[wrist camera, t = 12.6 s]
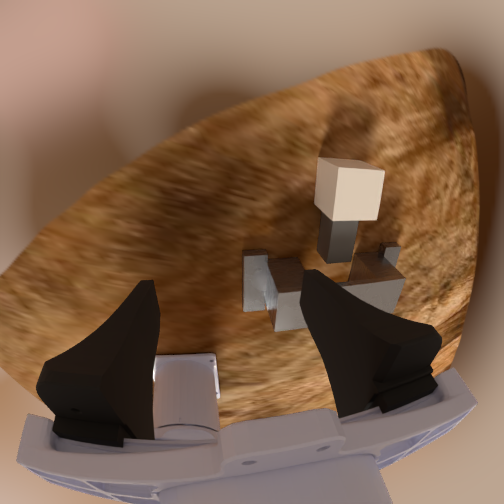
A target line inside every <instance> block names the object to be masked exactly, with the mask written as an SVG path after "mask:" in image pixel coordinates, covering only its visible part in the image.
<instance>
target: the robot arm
mask: <svg viewBox="0 0 504 504" xmlns="http://www.w3.org/2000/svg"><path fill="white" fill-rule="evenodd" d="M299 304H300V307H301V311H302V314H303V317H304V320H305V322H306V324H307V327H308V329H309V331H310V333H311V335H312V337H313V339H314V341H315V343H316V346H317V348H318V350H319V352H320V354H321V357H322V359H323V362H324V365H325V368H326V371H327V374H328V377H329V381H330V384H331V388H332V391H333V395H334V399H335V404H336V408H337V413H338V415H337V413H336V411H333V410H330V409H327V408H322V409H313V410H308V411H303V412H298V413H293V414H287V415H281V416H275V417H269V418H262V419H254V420H246V421H242V422H237V423H232V424H230V425H228V426H226V427H224V428H222V429H221V430H220V422H219V414H218V405H217V399H218V398H220V390H219V381H218V372H217V363H216V355H215V354H213V353H206V354H188V355H156V350H157V344H158V338H159V332H160V310H159V305H158V301H157V296H156V291H155V286H154V281H153V280H141V281H140V282H139V283H138V285H137V286H136V287H135V288H134V289H133V291H132V292H131V293H130V294H129V296H128V297H127V298H126V299H125V301H124V302H123V303H122V304H121V305H120V307H119V308H118V309H117V310H116V311H115V312H114V313H113V314H112V315H111V316H110V317H109V318H108V319H107V320H106V321H105V322H104V323H103V324H102V325H101V326H100V327H99V328H98V329H97V330H95V331H94V332H93V333H92V334H90V335H89V336H88V337H86V338H85V339H84V340H83V341H81V342H80V343H78V344H77V345H75V346H74V347H72V348H70V349H69V350H67V351H65V352H64V353H62V354H60V355H58V356H56V357H54V358H52V359H50V360H48V361H46V362H45V363H44V366H43V368H42V371H41V374H40V376H39V379H38V382H37V385H36V390H37V393H38V395H39V397H40V398H41V399H42V401H43V402H44V403H45V404H46V405H47V406H48V408H49V409H50V410H51V411H52V412H53V413H54V414H55V415H56V416H55V420H54V422H53V421H52V420H50V419H48V418H45V417H40V416H37V415H33V414H27V418H26V421H25V425H24V429H23V432H22V437H21V441H20V445H19V450H18V455H17V459H16V461H17V462H18V463H19V464H20V465H22V466H23V467H25V468H27V469H28V470H29V471H31V472H33V473H34V474H36V475H37V476H39V477H41V478H42V479H44V480H46V481H47V482H49V483H52V484H56V485H59V486H62V487H65V488H68V489H72V490H75V491H79V492H82V493H86V494H90V495H94V496H98V497H102V498H106V499H111V500H115V501H121V502H126V503H132V504H393V503H392V500H391V498H390V495H389V493H388V490H387V488H386V486H385V483H384V481H383V478H382V476H381V473H380V471H379V470H380V469H383V468H384V467H387V466H389V465H391V464H393V463H395V462H396V461H399V460H401V459H403V458H404V457H406V456H408V455H410V454H412V453H413V452H415V451H417V450H419V449H421V448H422V447H424V446H425V445H428V444H429V443H431V442H433V441H434V440H436V439H437V438H439V437H441V436H443V435H444V434H446V433H447V432H449V431H451V430H452V429H453V428H454V427H455V426H456V425H457V424H458V423H459V422H460V421H461V420H462V419H463V418H464V417H465V416H466V415H467V414H468V413H469V412H470V411H471V410H472V409H473V408H474V407H475V406H476V405H477V404H478V402H477V400H476V399H475V397H474V396H473V394H472V393H471V391H470V390H469V388H468V387H467V385H466V384H465V382H464V381H463V379H462V378H461V377H460V375H459V374H458V373H457V371H456V370H455V368H451V369H449V370H447V371H445V372H443V373H440V374H439V375H437V376H436V377H435V378H433V376H432V375H431V373H432V372H433V369H432V367H431V366H430V364H431V363H432V361H433V360H434V358H435V356H436V355H437V353H438V351H439V350H440V348H441V344H442V337H441V336H440V335H439V333H438V332H437V331H436V330H435V328H434V327H433V326H432V325H428V324H424V323H419V322H414V321H411V320H407V319H404V318H401V317H398V316H395V315H392V314H390V313H388V312H385V311H383V310H380V309H378V308H376V307H374V306H372V305H370V304H368V303H366V302H365V301H363V300H361V299H359V298H358V297H356V296H355V295H353V294H351V293H350V292H348V291H347V290H345V289H344V288H342V287H341V286H339V285H338V284H337V283H335V282H334V281H332V280H331V279H330V278H328V277H327V276H325V275H324V274H323V273H321V272H320V271H318V270H316V269H313V270H304V275H303V282H302V289H301V295H300V302H299ZM153 380H154V382H155V384H154V398H153Z"/></svg>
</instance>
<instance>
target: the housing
mask: <svg viewBox="0 0 504 504" xmlns="http://www.w3.org/2000/svg"><path fill="white" fill-rule="evenodd" d="M400 249H401V246H400V245H399V244H397V243H396V242H390V243H381V245H380V250H379V252H367V253H355V254H354V259H353V263H352V267H351V272H350V276H349V280H348V282H339V283H337V284H338V285H339V286H341V287H342V288H344V289H345V290H347V291H348V292H350V293H351V294H353V295H355V296H356V297H358V298H359V299H361V300H363V301H365V302H366V303H368V304H370V305H372V306H374V307H376V308H378V309H380V310H383V311H385V312H388V313H393V312H394V309H395V306H396V304H397V301H398V299H399V296H400V293H401V290H402V288H403V285H404V282H405V279H406V278H405V277H404V276H403V275H402V274H401V273H400V272H399V271H398V270H397V269H396V268H395V266H396V263H397V259H398V256H399V252H400ZM304 270H305V269H304V268H303V266H302V264H301V262H300V261H299V259H298V257H294V258H278V259H268V254H267V252H266V249H263V250H245V251H243V258H242V307H243V311H244V312H247V311H258V310H265V303H266V306H267V310H268V313H269V316H270V319H271V322H272V325H273V328H274V332H276V331H284V330H292V329H300V328H307V324H306V322H305V320H304V317H303V314H302V311H301V307H300V304H299V302H300V295H301V289H302V282H303V275H304Z"/></svg>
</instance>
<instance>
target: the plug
mask: <svg viewBox="0 0 504 504" xmlns="http://www.w3.org/2000/svg"><path fill="white" fill-rule="evenodd" d="M384 174H385V171H384V170H382V169H380V168H377V167H375V166H373V165H370V164H368V163H366V162H363V161H361V160H351V159H338V158H322V157H318V164H317V176H316V188H315V198H314V204H315V205H316V206H317V207H318V208H319V209H320V210H321V211H322V213H321V222H320V230H319V237H318V245H317V251H318V253H319V254H320V255H321V257H322V258H323V260H324V261H325V262H326V264H329V263H341V262H351V259H352V254H353V249H354V244H355V239H356V234H357V228H358V223H359V220H377V216H378V211H379V205H380V200H381V194H382V187H383V181H384Z"/></svg>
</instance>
